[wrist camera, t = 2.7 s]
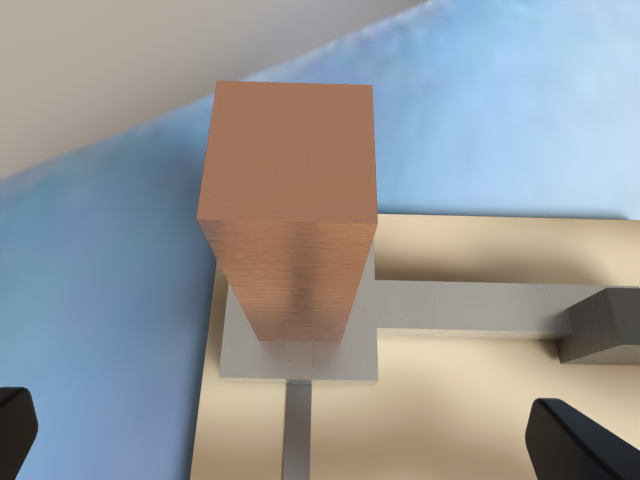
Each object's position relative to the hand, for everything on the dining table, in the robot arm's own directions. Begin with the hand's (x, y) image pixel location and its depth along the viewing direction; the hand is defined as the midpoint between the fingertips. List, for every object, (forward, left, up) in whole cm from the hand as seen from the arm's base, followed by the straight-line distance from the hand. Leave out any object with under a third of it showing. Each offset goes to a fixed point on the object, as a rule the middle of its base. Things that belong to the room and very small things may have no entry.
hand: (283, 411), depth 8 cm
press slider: (+1, -8, -10) cm, 13 cm away
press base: (-5, -5, -11) cm, 13 cm away
